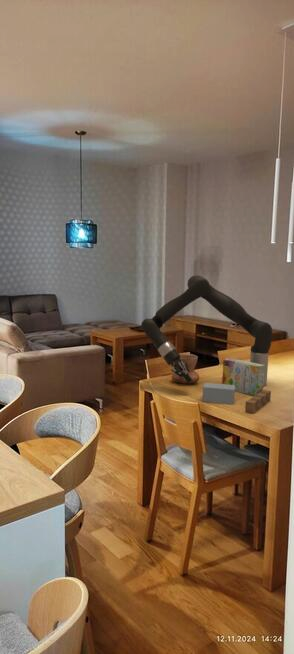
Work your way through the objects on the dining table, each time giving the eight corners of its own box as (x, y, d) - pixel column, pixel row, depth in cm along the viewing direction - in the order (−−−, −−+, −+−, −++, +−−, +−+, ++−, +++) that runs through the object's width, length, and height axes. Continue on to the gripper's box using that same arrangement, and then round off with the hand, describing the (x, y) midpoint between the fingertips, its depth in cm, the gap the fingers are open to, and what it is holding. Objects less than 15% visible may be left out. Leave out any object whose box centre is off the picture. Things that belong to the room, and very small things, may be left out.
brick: (204, 397, 223) (204, 382, 223) (234, 399, 221) (235, 385, 220) (202, 402, 216) (203, 387, 215) (233, 404, 213) (234, 389, 212)
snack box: (263, 395, 230) (265, 364, 228) (256, 397, 226) (259, 366, 224) (227, 386, 245) (229, 357, 243) (220, 387, 241) (222, 358, 239)
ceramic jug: (175, 377, 259) (176, 351, 257) (202, 379, 255) (202, 353, 252) (167, 386, 242) (167, 358, 240) (195, 388, 238) (196, 361, 236)
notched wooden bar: (262, 399, 223) (263, 389, 222) (270, 400, 221) (270, 391, 220) (245, 412, 202) (245, 402, 202) (252, 413, 201) (253, 403, 200)
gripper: (167, 350, 222) (189, 379, 217) (180, 346, 233) (202, 374, 229) (157, 359, 226) (178, 389, 221) (170, 355, 237) (191, 383, 232)
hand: (190, 381), depth 225 cm, fingers closed
